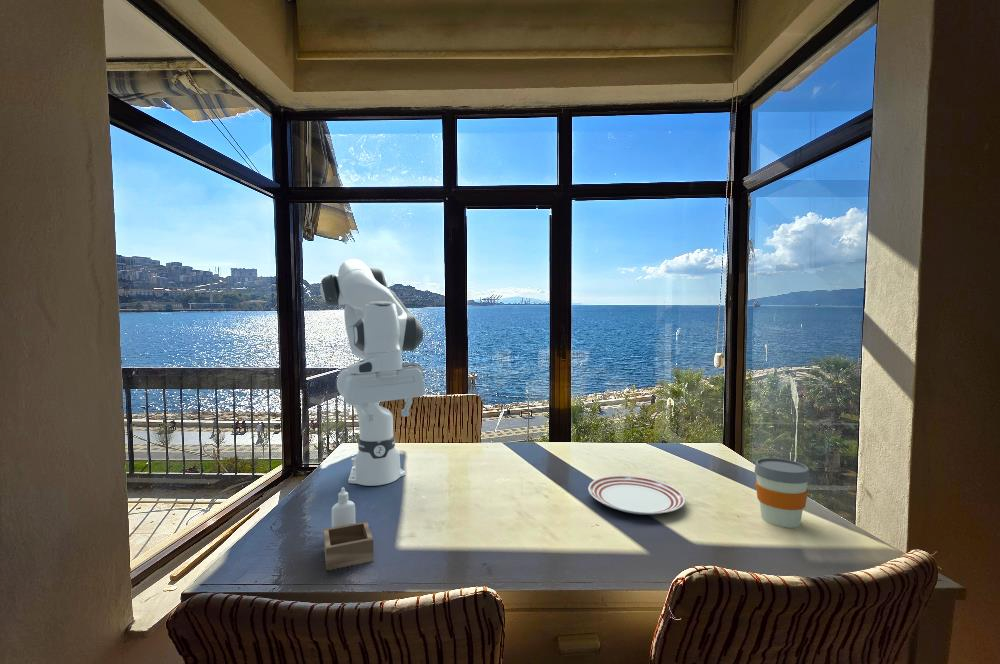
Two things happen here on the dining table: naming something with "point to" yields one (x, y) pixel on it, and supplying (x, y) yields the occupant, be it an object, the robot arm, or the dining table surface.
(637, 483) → the dinner plate
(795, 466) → the reusable coffee cup
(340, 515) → the eye dropper bottle
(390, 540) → the dining table surface
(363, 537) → the small open wooden box
